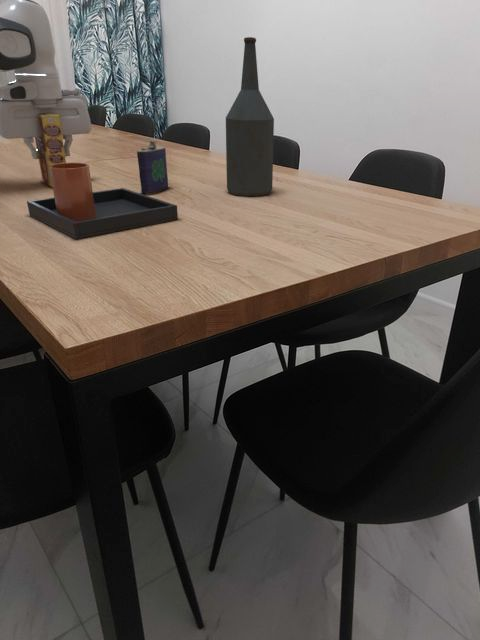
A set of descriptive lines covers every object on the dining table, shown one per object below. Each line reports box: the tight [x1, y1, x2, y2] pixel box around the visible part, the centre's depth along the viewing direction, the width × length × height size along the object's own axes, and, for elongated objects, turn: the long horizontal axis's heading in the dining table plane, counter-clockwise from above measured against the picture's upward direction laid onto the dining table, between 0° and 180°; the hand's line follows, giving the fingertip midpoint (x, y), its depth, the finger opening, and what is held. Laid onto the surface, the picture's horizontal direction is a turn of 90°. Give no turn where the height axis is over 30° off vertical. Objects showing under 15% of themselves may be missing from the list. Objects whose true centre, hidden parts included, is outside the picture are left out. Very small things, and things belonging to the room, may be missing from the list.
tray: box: [26, 187, 179, 240], centre depth 92 cm, size 20×20×3 cm
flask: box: [136, 139, 169, 196], centre depth 111 cm, size 9×3×11 cm, turn 157°
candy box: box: [34, 113, 67, 188], centre depth 115 cm, size 9×4×15 cm, turn 35°
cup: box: [49, 162, 96, 222], centre depth 87 cm, size 6×6×9 cm
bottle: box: [225, 36, 275, 197], centre depth 107 cm, size 10×10×30 cm
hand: (51, 157), depth 115 cm, fingers open, 5 cm apart
